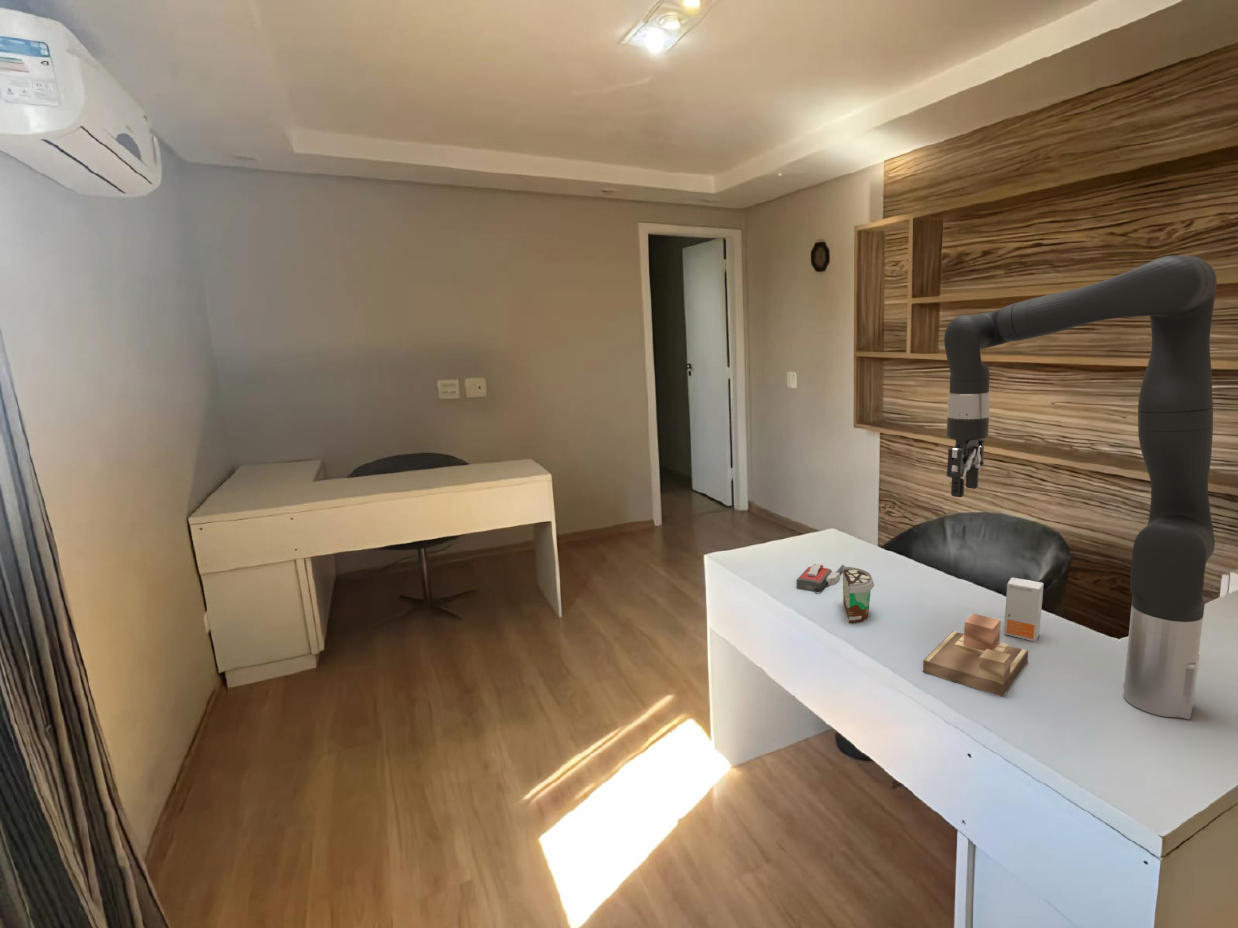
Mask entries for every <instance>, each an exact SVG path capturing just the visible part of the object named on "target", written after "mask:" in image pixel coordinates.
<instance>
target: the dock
mask: <svg viewBox="0 0 1238 928" xmlns="http://www.w3.org/2000/svg"><path fill="white" fill-rule="evenodd" d="M963 635H964V633H961V632H958V631H955V630H952V631H951V632H950V633H949V634H948V635H947V636H946V637H945V638H944V639H943V640H942V641H941V642H940V643H939V644H938V645H937V646H936V647H935V648H934V649H933V650H932V651H931V652H930V653H929V654H928V655H927V656H925V658H924V659H923V662H922V672H923V673H924V674H929V675H930V676H932V675H933V676H936V677H938V678H942V679H944V680H948V681H951V682H954V683H958V684H960V685H964V686H967V687H970V688H974V689H977V690H980V691H983V692H985V693H989V694H992V695H995V696H999V697H1002V698H1003V697H1004V696H1005V694H1006V693H1007V692H1008V691H1009V689H1010V688H1011V686H1012V685H1013V684H1014V682H1015V681H1016V679H1017V678H1018V677H1019V675H1020V674H1021V672H1022V671H1023V670H1024V669H1025V667H1026V666H1027V664H1028V661H1029V650H1028V649H1025V648H1018V647H1015V646H1012V645H1009V647H1008V651H1007V653H1006V654H1010V655H1011V659H1010V676H1009V677H1008V678H1007V680H1006V681H1005V682H1004V684H1003V683H999V682H996V681H992V680H988V679H985V678H981V677H979V656H976V655H972V654H968V653H965V652H961V651H958V650H954V649H955V643H956V642H957V641H958V640H959V639H960V638H961V637H962V636H963Z"/></svg>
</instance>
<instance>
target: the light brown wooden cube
mask: <svg viewBox="0 0 1238 928" xmlns="http://www.w3.org/2000/svg"><path fill="white" fill-rule="evenodd" d="M1010 659H1011V655H1010V654H1006V653H1002V652H998V651H994V650H990V649H986V650H985V651H984V652H983V653H982V655H981V656H980V657H979V677H981V678H985V679H988V680H992V681H996V682H999V683H1003V684H1004V682H1005V681H1006V680H1007V678H1008V677H1009V676H1010Z"/></svg>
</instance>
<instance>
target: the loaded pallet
mask: <svg viewBox="0 0 1238 928" xmlns="http://www.w3.org/2000/svg"><path fill="white" fill-rule="evenodd" d="M963 627H964V628H963V629H964V630H963V634H964V635H963V636H962V637H961V638H960V639H959V640H958V641H957V642H956V643H955V649H954V650H958V651H961V652H965V653H968V654H972V655H976V656H979V657H980V656H981V655H982V653H983V652H984V651H985V650H986V649H990V650H994V651H998V652H1002V653H1007V651H1008V647H1009V646H1010V645H1009V644H1008V643H1005V642H1000V640H1001V637H1000V636H1001V619H999V618H998V619H997V618H993V617H989V616H986V615H980V614H977V613H972V614H971V615H970V616H969V617H968V618H967V619H966V620H965V621H964V625H963Z"/></svg>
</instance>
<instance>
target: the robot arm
mask: <svg viewBox="0 0 1238 928" xmlns="http://www.w3.org/2000/svg"><path fill="white" fill-rule="evenodd" d="M1217 283H1218V282H1217V274H1216V272H1215V270H1214V268H1213V267H1212V265H1211V264H1210V263H1208V262H1207V261H1206V260H1205V259H1202V258H1200V257H1198V256H1193V255H1176V254H1175V255H1166V256H1160V257H1159V258H1156V259H1153V260H1152V261H1149V262H1147V263H1145V264H1143V265H1140V266H1137V267H1135V268H1133V269H1131V270H1128V271H1125V272H1123V273H1121V274H1120V273H1119V274H1118V275H1115V276H1113V277H1110V278H1107V279H1104V280H1101V281H1099V282H1095V283H1092V284H1089V285H1086V286H1082V287H1077V288H1073V289H1069V290H1064V291H1060V292H1056V293H1051V294H1046V295H1042V296H1038V297H1034V298H1030V299H1026V300H1022V301H1018V302H1013V303H1011V304H1009V305H1006V306H1004V307H1002V308H1000V309H995V310H992V311H988V312H983V313H973V314H962V315H958V316H956V317H954V318H953V319H951V320H950V322H949V323H948V325H947V326H946V328H945V332H944V337H943V339H944V340H943V341H944V350H945V355H946V359H947V363H948V368H949V372H950V375H949V394H948V399H947V411H946V415H947V416H946V437H947V438H949V439H951V440H954V441H955V444H954V447H950V446H949V447H948V450H947V451H948V452H947V467H946V468H947V469H946V471H947V472H946V477H948V478H950V479H951V486H950V487H951V489H950V494H951V497H954V498H955V497H956V498H962V497H964V495H965V488H967V489H971V490H972V489H973V490H975V489H977V488H978V487H979V475H980V473H979V471H981V467H983V466H984V459H985V458H984V457H985V455H984V452H985V451H984V449H985V439H987V438H988V437H989V425H990V410H991V409H990V406H991V404H990V403H991V402H990V393H989V392H990V377H991V376H990V375H991V374H990V368H989V365H987V363H984V362H982V355H981V350H984V349H989V348H991V347H992V348H993V347H996V346H1000V345H1003V344H1007V343H1009V342H1018V341H1024V340H1029V339H1033V338H1039V337H1042V336H1043V337H1044V336H1048V335H1051V334H1052V335H1053V334H1056V333H1059V332H1062V331H1063V332H1064V331H1066V330H1069V329H1072V328H1076V327H1080V326H1083V325H1087V324H1091V323H1095V322H1100V321H1106V320H1113V319H1120V318H1122V319H1124V318H1135V317H1149V318H1150V328H1151V348H1150V349H1151V351H1150V356H1149V360H1148V363H1147V366H1146V370H1145V373H1144V377H1143V378H1142V384H1141V386H1140V389H1139V390H1140V391H1139V395H1138V403H1137V405H1138V406H1137V432H1138V433H1137V434H1138V442H1139V447H1140V451H1141V455H1142V458H1143V461H1144V463H1145V467H1146V470H1147V472H1148V476H1149V481H1150V507H1149V514H1148V515H1149V516H1148V521H1147V524H1146V526H1145V527H1143V528H1142V529H1141V530H1140V531H1139V532H1138V533H1137V535H1136V537H1135V539H1134V543H1133V547H1132V554H1131V567H1130V568H1131V569H1130V581H1129V583H1130V585H1129V587H1130V593H1131V596H1132V599H1131V607H1130V620H1129V628H1128V629H1129V630H1128V640H1127V649H1126V661H1125V670H1124V682H1123V692H1122V695H1123V696H1122V697H1123V698H1124V699H1125V700H1126V702H1128V703H1129V704H1130V705H1131V706H1133V707H1135V708H1137V709H1139V710H1141V711H1143V712H1147V713H1150V714H1152V715H1155V716H1161V717H1165V718H1166V717H1167V718H1168V717H1169V718H1181V719H1185V720H1191V717H1192V712H1193V709H1194V706H1195V704H1194V703H1195V696H1196V695H1195V694H1196V688H1197V680H1198V672H1199V671H1198V670H1199V665H1200V663H1199V661H1200V647H1201V637H1202V630H1203V621H1204V614H1205V607H1206V606H1205V604H1206V603H1205V601H1204V595H1203V592H1204V585H1205V584H1204V582H1205V576H1206V575H1205V573H1206V565H1207V562H1208V560H1210V558H1211V556H1212V555H1213V553H1214V551H1215V546H1216V540H1215V533H1214V526H1213V519H1212V513H1211V506H1210V498H1209V497H1210V495H1209V477H1210V469H1211V462H1212V450H1213V434H1214V433H1213V432H1214V400H1213V378H1212V377H1213V373H1212V372H1213V371H1212V360H1211V359H1212V358H1211V349H1210V345H1211V344H1210V341H1211V339H1210V337H1211V331H1212V330H1211V328H1212V322H1213V321H1212V320H1213V315H1214V306H1215V300H1216V293H1217V285H1218V284H1217Z"/></svg>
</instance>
